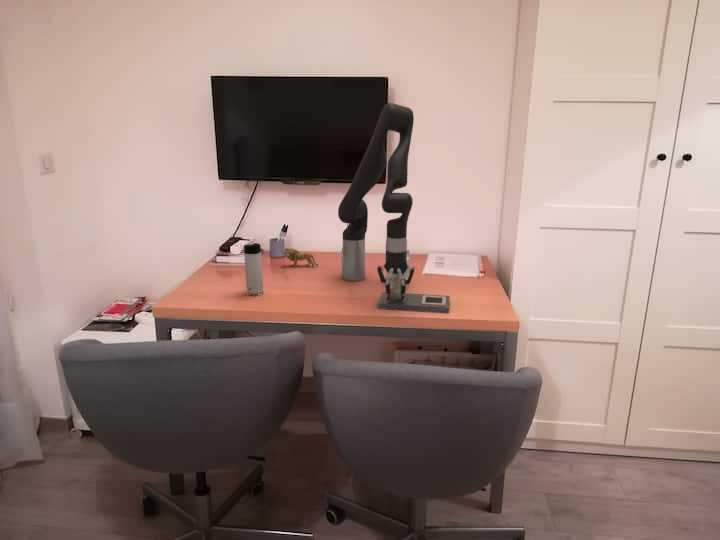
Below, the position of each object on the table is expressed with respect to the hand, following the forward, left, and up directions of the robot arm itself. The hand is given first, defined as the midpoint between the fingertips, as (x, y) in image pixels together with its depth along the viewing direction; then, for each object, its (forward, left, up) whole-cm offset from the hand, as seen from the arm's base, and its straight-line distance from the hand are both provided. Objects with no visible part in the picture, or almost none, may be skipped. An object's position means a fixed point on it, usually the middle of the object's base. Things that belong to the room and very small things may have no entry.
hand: (395, 293), depth 194 cm
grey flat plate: (+7, 0, -4) cm, 8 cm away
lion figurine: (-47, +37, -4) cm, 60 cm away
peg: (0, 0, -4) cm, 4 cm away
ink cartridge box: (-1, +20, -4) cm, 20 cm away
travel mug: (-54, +1, -4) cm, 55 cm away
